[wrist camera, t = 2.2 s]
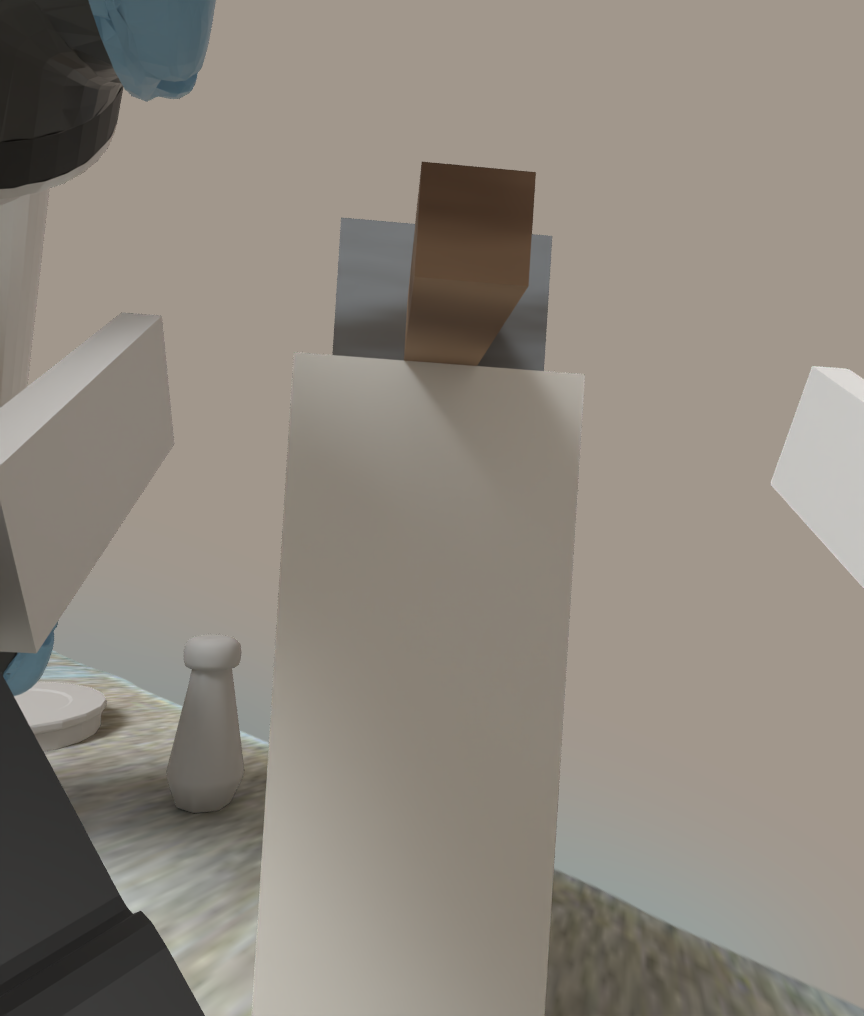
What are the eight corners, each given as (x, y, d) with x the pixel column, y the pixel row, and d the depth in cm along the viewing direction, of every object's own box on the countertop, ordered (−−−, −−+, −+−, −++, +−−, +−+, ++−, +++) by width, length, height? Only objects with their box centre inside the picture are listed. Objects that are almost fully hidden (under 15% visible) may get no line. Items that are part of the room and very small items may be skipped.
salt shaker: (225, 783, 62) (235, 628, 62) (253, 808, 57) (264, 640, 57) (154, 796, 58) (164, 632, 58) (178, 823, 54) (189, 645, 54)
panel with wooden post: (640, 295, 19) (654, 70, 20) (298, 267, 19) (312, 34, 19) (518, 396, 37) (525, 279, 37) (340, 383, 37) (348, 264, 37)
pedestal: (539, 1095, 30) (585, 374, 31) (246, 1092, 30) (293, 352, 30) (491, 910, 44) (522, 415, 45) (291, 904, 44) (323, 401, 44)
